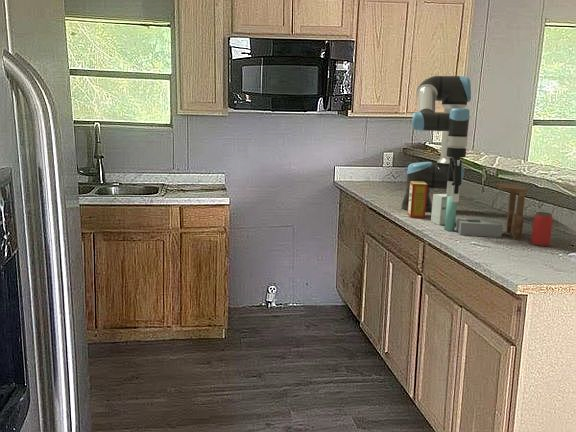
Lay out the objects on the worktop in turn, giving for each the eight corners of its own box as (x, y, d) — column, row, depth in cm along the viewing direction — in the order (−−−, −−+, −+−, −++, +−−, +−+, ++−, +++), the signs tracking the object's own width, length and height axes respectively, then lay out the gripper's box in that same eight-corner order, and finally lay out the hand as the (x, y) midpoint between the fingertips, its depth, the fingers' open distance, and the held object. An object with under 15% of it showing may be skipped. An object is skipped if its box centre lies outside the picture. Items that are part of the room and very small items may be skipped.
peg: (443, 228, 233) (446, 195, 230) (453, 229, 232) (456, 196, 229) (445, 230, 229) (448, 197, 226) (455, 231, 228) (458, 197, 226)
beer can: (533, 241, 215) (537, 211, 212) (551, 244, 211) (555, 213, 208) (528, 244, 210) (532, 213, 207) (547, 247, 206) (550, 215, 203)
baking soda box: (424, 218, 254) (427, 183, 251) (410, 217, 255) (413, 183, 251) (421, 214, 263) (424, 180, 260) (407, 213, 264) (410, 180, 261)
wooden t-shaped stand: (489, 230, 232) (494, 183, 228) (511, 231, 231) (517, 184, 227) (497, 238, 219) (502, 187, 215) (521, 239, 218) (527, 188, 214)
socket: (456, 229, 232) (457, 217, 231) (495, 231, 230) (496, 219, 229) (460, 234, 222) (461, 222, 221) (501, 237, 220) (502, 224, 219)
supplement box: (439, 225, 240) (441, 196, 237) (430, 221, 247) (432, 193, 244) (454, 224, 242) (456, 196, 239) (445, 221, 249) (447, 193, 246)
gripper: (442, 145, 236) (438, 194, 240) (452, 148, 212) (447, 203, 216) (460, 145, 235) (456, 195, 239) (472, 149, 211) (467, 204, 215)
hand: (452, 199), depth 228 cm, fingers open, 13 cm apart
